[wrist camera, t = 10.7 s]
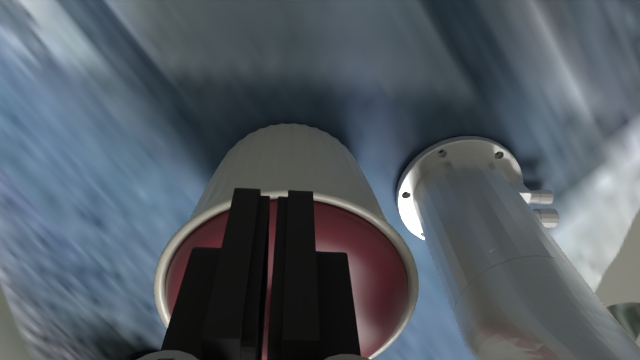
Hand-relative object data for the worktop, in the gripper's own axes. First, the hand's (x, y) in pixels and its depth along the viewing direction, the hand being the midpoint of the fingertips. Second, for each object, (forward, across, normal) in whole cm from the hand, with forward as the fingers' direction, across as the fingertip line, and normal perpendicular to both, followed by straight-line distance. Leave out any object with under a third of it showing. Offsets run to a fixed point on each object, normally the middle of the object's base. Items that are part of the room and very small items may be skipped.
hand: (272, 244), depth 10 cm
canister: (+32, -1, +17) cm, 36 cm away
